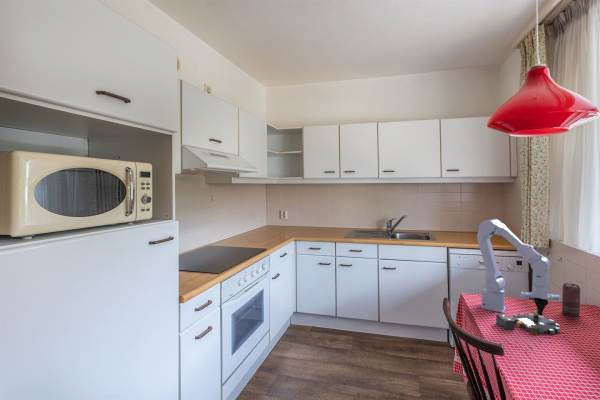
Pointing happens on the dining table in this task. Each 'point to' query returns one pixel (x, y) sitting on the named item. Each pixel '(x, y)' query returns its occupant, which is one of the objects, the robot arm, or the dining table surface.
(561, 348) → the dining table surface
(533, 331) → the brown rectangular block
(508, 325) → the gray speaker cabinet
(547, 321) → the sprocket
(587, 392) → the dining table surface
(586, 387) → the dining table surface
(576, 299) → the can
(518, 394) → the dining table surface
